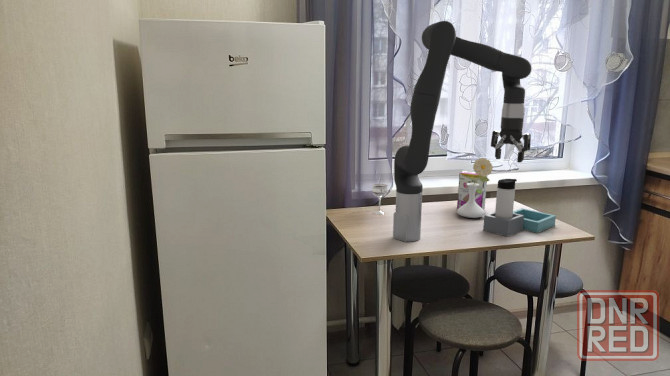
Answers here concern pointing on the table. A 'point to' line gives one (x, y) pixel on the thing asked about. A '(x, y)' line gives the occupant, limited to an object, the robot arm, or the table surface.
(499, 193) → the travel mug
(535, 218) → the tray
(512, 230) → the holder sleeve
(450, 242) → the table surface
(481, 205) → the candy bar box
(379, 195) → the wineglass
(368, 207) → the table surface
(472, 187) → the flower in vase
